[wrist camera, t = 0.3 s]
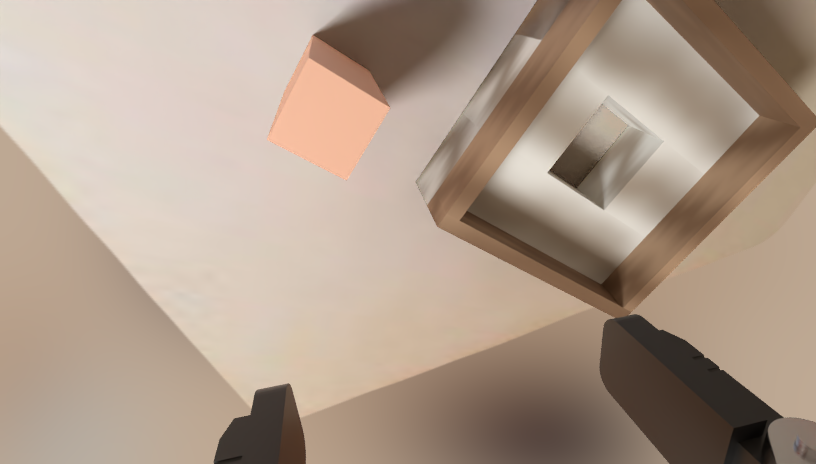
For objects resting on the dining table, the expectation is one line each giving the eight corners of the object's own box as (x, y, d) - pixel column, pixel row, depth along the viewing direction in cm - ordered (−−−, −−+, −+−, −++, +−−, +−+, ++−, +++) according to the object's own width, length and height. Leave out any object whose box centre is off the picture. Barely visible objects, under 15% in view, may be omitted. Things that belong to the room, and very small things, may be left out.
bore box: (576, -58, 26) (651, -71, 20) (731, 97, 33) (821, 122, 27) (415, 182, 32) (437, 226, 26) (576, 270, 39) (622, 321, 33)
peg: (312, 34, 26) (308, 57, 18) (369, 70, 28) (390, 107, 19) (283, 92, 28) (266, 139, 19) (339, 123, 29) (346, 180, 21)
